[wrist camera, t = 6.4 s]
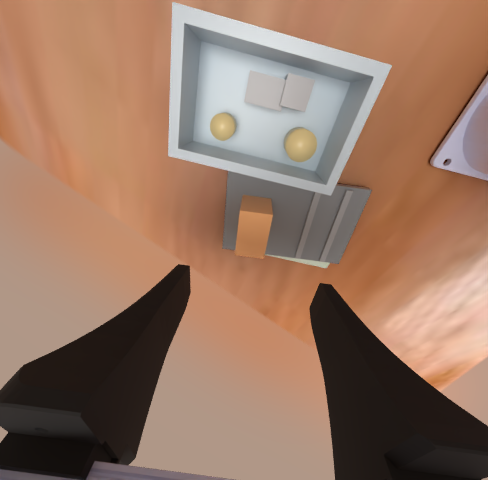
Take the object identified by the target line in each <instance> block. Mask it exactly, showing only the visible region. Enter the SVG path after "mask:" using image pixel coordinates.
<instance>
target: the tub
mask: <svg viewBox="0 0 488 480" xmlns="http://www.w3.org/2000/svg"><path fill="white" fill-rule="evenodd" d="M391 67H392V65H389V64H386V63H383V62H379V61H376V60H372V59H369V58H365V57H362V56H358V55H355V54H351V53H348V52H344V51H341V50H338V49H334V48H331V47H327V46H324V45H320V44H317V43H313V42H310V41H306V40H303V39H299V38H296V37H292V36H289V35H286V34H282V33H279V32H275V31H272V30H268V29H265V28H261V27H258V26H254V25H251V24H247V23H244V22H241V21H237V20H234V19H230V18H227V17H223V16H220V15H216V14H213V13H209V12H206V11H202V10H199V9H195V8H192V7H189V6H185V5H182V4H178V3H175V2H172V35H171V72H170V109H169V147H168V156H170V157H174V158H178V159H183V160H187V161H191V162H195V163H199V164H203V165H207V166H211V167H215V168H219V169H223V170H228V171H232V172H236V173H240V174H244V175H248V176H252V177H256V178H260V179H264V180H268V181H273V182H277V183H281V184H285V185H289V186H293V187H297V188H301V189H305V190H309V191H314V192H318V193H322V194H326V195H330V196H331V195H332V192H333V190H334V188H335V186H336V184H337V182H338V180H339V178H340V175H341V173H342V171H343V169H344V167H345V165H346V163H347V160H348V158H349V156H350V154H351V152H352V150H353V148H354V146H355V143H356V141H357V139H358V137H359V135H360V133H361V131H362V128H363V126H364V124H365V122H366V120H367V118H368V116H369V114H370V111H371V109H372V107H373V105H374V103H375V101H376V99H377V97H378V94H379V92H380V90H381V88H382V86H383V84H384V82H385V79H386V77H387V75H388V73H389V71H390V69H391Z"/></svg>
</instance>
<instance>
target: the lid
mask: <svg viewBox="0 0 488 480" xmlns="http://www.w3.org/2000/svg"><path fill="white" fill-rule="evenodd" d="M371 191H372V190H371V189H370V188H367V187H359V186H352V185H344V184H336V186H335V188H334V190H333V192H332V195H331V196H330V195H326V194H322V193H318V192H314V191H309V190H305V189H301V188H297V187H293V186H289V185H285V184H281V183H277V182H273V181H268V180H264V179H260V178H256V177H252V176H248V175H244V174H240V173H236V172H232V171H228V179H227V193H226V206H225V220H224V234H223V248H222V249H230V250H235V255H238V256H245V257H253V258H261V259H264V256H265V254H267V255H275V256H282V257H290V258H297V259H305V260H313V261H319V262H328V263H335V264H339V262H340V260H341V258H342V255H343V253H344V251H345V249H346V246H347V244H348V242H349V240H350V238H351V235H352V233H353V231H354V229H355V227H356V224H357V222H358V220H359V218H360V216H361V213H362V211H363V209H364V207H365V205H366V202H367V200H368V198H369V196H370V194H371Z"/></svg>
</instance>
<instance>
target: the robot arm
mask: <svg viewBox="0 0 488 480" xmlns="http://www.w3.org/2000/svg"><path fill="white" fill-rule="evenodd" d="M446 159H447V162H446V163H445V164H443V162H444V161H445V160H446ZM430 163H431V165H432V166H434V167H437V168H441V169H445V170H449V171H453V172H456V173H460V174H464V175H468V176H472V177H476V178H479V179H483V180H487V181H488V75H487V77H486V78H485V80H484V81H483V82H482V84H481V85H480V87H479V88H478V90H477V91H476V93H475V94H474V96H473V97H472V99H471V100H470V102H469V103H468V105H467V106H466V108H465V109H464V111H463V112H462V114H461V115H460V117H459V118H458V120H457V121H456V123H455V124H454V126H453V127H452V129H451V130H450V132H449V133H448V135H447V136H446V138H445V139H444V140H443V142H442V143H441V145H440V146H439V148H438V149H437V151H436V152H435V154H434V155H433V157H432V158H431V161H430ZM189 296H190V266H187V265H179V264H178V265H177V266H176V267H175V268H174V269H173V270H172V271H171V272H170V273H169V274H168V275H167V276H165V277H164V278H163V279H162V280H161V281H160V282H159V283H158V284H157V285H156V286H155V287H153V288H152V289H151V290H150V291H149V292H147V293H146V294H145V295H144V296H143V297H141V298H140V299H139V300H138V301H137V302H135V303H134V304H132V305H131V306H130V307H128V308H127V309H126V310H124V311H123V312H121V313H120V314H118V315H117V316H116V317H114V318H112V319H111V320H109V321H108V322H106V323H104V324H103V325H101V326H100V327H98V328H96V329H95V330H93V331H91V332H89V333H88V334H86V335H84V336H82V337H80V338H79V339H77V340H75V341H73V342H71V343H69V344H67V345H65V346H63V347H61V348H59V349H57V350H55V351H53V352H51V353H49V354H47V355H45V356H42V357H40V358H38V359H36V360H34V361H32V362H29V363H27V364H25V365H23V367H21V368H20V369H19V370H18V371H17V372H16V374H15V375H14V376H13V377H12V378H11V379H10V380H9V381H8V382H7V383H6V384H5V386H4V387H3V388H2V389H1V390H0V426H1V427H2V428H4V429H5V430H7V431H8V434H7V435H6V436H5V438H4V439H3V440H2V441H1V443H0V480H234V479H226V478H218V477H211V476H204V475H196V474H188V473H181V472H174V471H166V470H158V469H150V468H142V467H135V466H129V464H130V463H131V462H132V461H133V460H134V459H135V458H136V454H137V451H138V447H139V443H140V440H141V436H142V432H143V429H144V425H145V422H146V418H147V415H148V411H149V407H150V405H151V401H152V398H153V394H154V391H155V388H156V385H157V382H158V378H159V375H160V372H161V369H162V366H163V363H164V360H165V357H166V354H167V351H168V349H169V346H170V344H171V342H172V340H173V337H174V335H175V333H176V330H177V328H178V326H179V323H180V321H181V318H182V316H183V314H184V312H185V309H186V306H187V302H188V299H189ZM310 318H311V325H312V330H313V334H314V338H315V342H316V346H317V350H318V354H319V358H320V362H321V366H322V371H323V376H324V382H325V388H326V395H327V403H328V410H329V418H330V427H331V437H332V445H333V458H334V470H335V480H481V479H483V478H486V477H488V426H487V425H485V424H484V423H482V422H481V421H479V420H478V419H477V418H475V417H474V416H472V415H471V414H470V413H468V412H467V411H465V410H464V409H462V408H461V407H459V406H458V405H457V404H455V403H454V402H452V401H451V400H450V399H448V398H447V397H446V396H444V395H443V394H442V393H441V392H439V391H438V390H437V389H435V388H434V387H433V386H431V385H430V384H429V383H428V382H426V381H425V380H424V379H423V378H421V377H420V376H419V375H418V374H416V373H415V372H414V371H413V370H412V369H411V368H409V367H408V366H407V365H406V364H405V363H403V362H402V361H401V360H400V359H399V358H398V357H397V356H396V355H395V354H394V353H392V352H391V351H390V350H389V349H388V348H387V347H386V346H385V345H384V344H383V343H382V342H381V341H380V340H379V339H378V338H377V337H376V336H375V335H374V334H373V333H372V332H371V331H370V330H369V329H368V328H367V327H366V325H365V324H364V323H363V322H362V321H361V320H360V319H359V318H358V316H357V315H356V314H355V313H354V312H353V311H352V309H351V308H350V307H349V306H348V305H347V303H346V302H345V301H344V300H343V299H342V297H341V296H340V295H339V294H338V292H337V291H336V290H335V289H334V288H333V286H332V285H331V284H323V283H320V284H319V286H318V289H317V291H316V294H315V296H314V298H313V301H312V303H311V306H310Z"/></svg>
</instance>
